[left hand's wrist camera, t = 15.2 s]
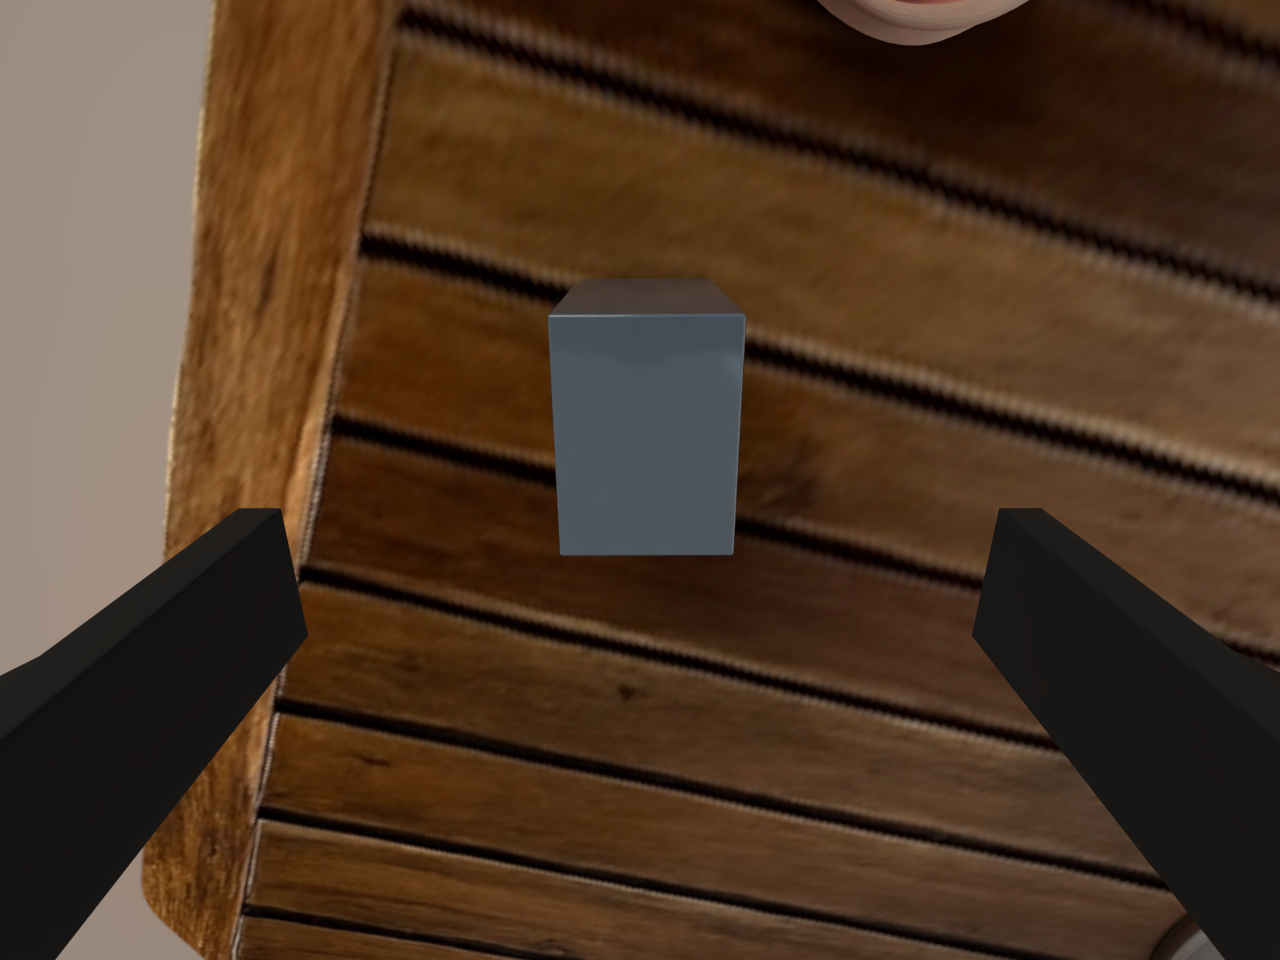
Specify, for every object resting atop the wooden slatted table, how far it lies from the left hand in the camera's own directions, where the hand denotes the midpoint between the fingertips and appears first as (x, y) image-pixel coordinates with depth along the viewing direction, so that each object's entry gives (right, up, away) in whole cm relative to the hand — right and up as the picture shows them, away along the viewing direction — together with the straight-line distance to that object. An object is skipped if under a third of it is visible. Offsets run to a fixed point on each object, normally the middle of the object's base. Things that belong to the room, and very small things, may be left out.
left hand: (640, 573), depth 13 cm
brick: (0, +7, +18) cm, 19 cm away
